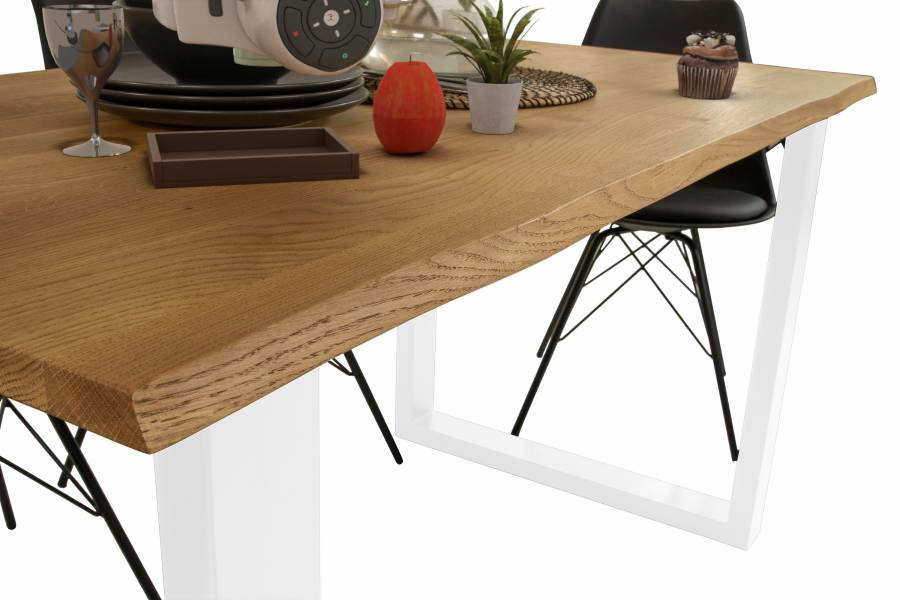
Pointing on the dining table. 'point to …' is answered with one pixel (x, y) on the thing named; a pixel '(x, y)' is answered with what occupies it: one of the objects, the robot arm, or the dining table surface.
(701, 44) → the cupcake
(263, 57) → the cup
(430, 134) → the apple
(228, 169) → the tray
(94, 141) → the wine glass
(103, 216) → the dining table surface
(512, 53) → the house plant
